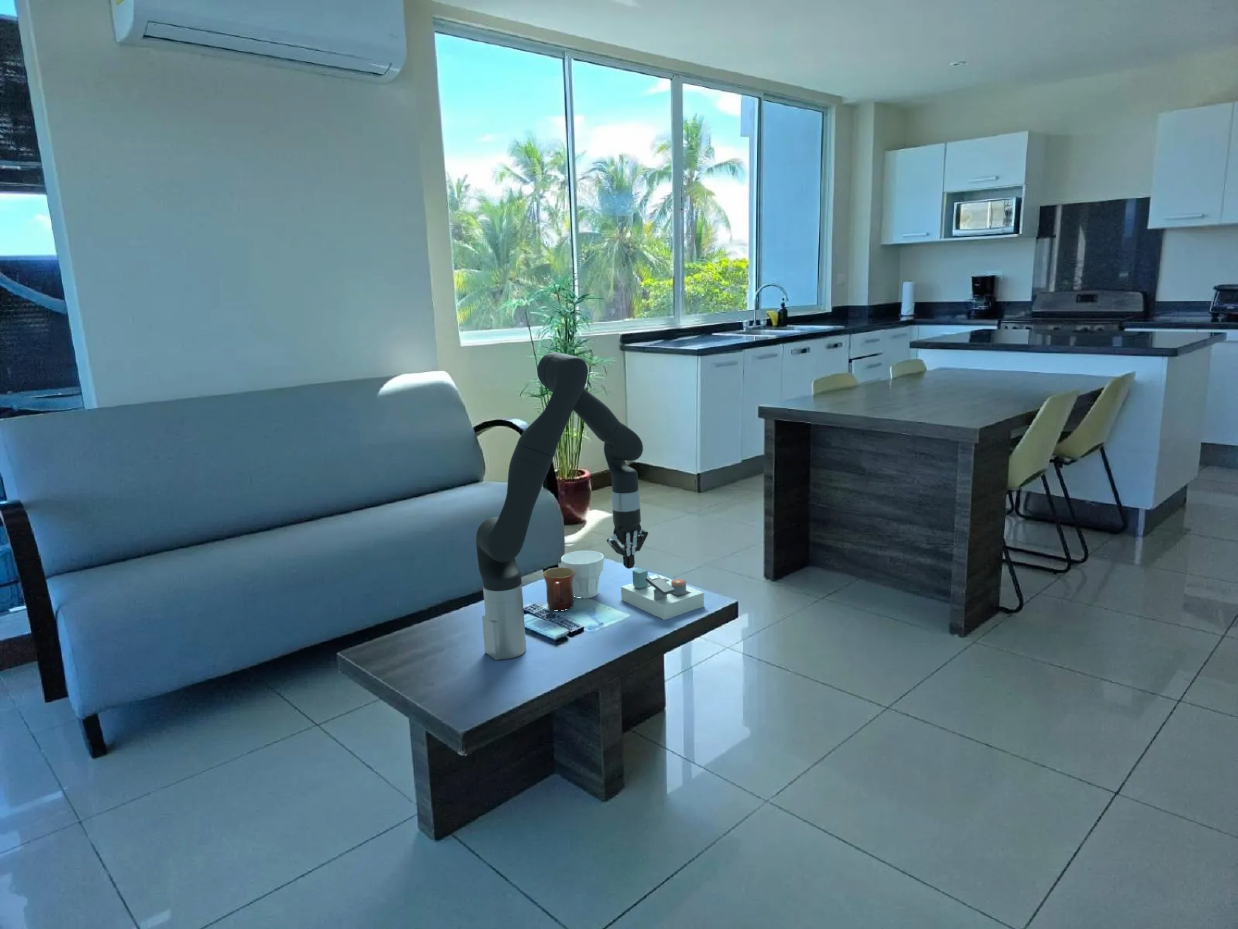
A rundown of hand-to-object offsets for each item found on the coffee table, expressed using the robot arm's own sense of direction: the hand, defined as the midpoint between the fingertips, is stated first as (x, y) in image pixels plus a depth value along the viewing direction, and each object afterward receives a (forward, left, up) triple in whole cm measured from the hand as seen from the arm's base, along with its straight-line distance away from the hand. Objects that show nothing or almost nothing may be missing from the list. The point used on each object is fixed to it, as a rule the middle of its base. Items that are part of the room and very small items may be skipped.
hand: (629, 567), depth 217 cm
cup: (-5, +16, -11) cm, 20 cm away
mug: (-17, +10, -11) cm, 23 cm away
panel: (+7, -5, -11) cm, 14 cm away
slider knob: (+4, 0, -6) cm, 7 cm away
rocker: (+3, -10, -3) cm, 11 cm away
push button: (+9, -10, -9) cm, 16 cm away
